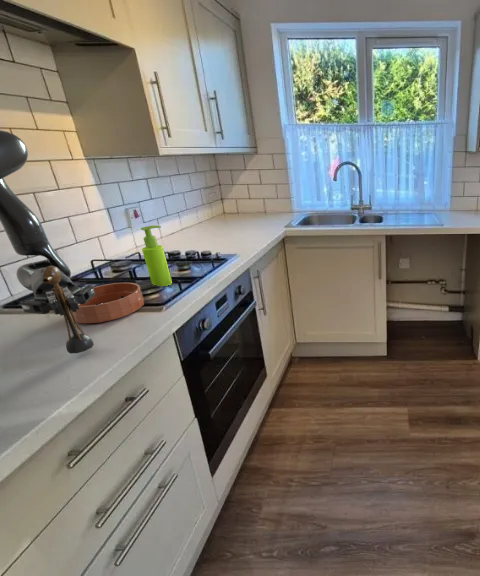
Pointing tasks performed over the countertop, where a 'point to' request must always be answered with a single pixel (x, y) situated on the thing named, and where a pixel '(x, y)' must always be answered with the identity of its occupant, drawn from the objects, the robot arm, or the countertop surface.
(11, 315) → the countertop surface
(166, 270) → the soap dispenser
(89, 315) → the bowl
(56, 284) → the wooden tabletop sculpture
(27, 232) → the robot arm
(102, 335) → the countertop surface
